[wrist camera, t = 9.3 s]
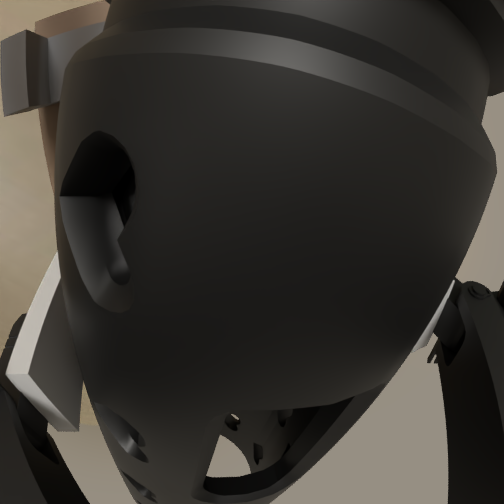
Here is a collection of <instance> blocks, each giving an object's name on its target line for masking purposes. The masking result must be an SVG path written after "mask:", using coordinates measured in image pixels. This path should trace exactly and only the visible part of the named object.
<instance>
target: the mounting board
mask: <svg viewBox="0 0 504 504" xmlns="http://www.w3.org/2000/svg"><path fill="white" fill-rule="evenodd" d="M109 7H110V4H109V3H107V2H106V1H105V0H103V1H99V2H95V3H91V4H88V5H84V6H81V7H77V8H74V9H71V10H67V11H64V12H61V13H58V14H56V15H53V16H50V17H47V18H45V19H42V20H39V21H37V22H35V33H34V32H31V31H29V30H24V31H22V32H19V33H17V34H15V35H13V36H11V37H8V38H6V39H4V40H2V41H1V88H2V101H3V111H4V117H5V116H9V115H14V114H18V113H23V112H28V111H31V110H34V109H37V108H38V110H39V118H40V126H41V133H42V139H43V145H44V151H45V156H46V161H47V166H48V171H49V176H50V180H51V185H52V189H53V193H54V171H55V146H56V132H57V122H58V112H59V104H60V97H61V90H62V84H63V78H64V72H65V68H66V66H67V65H68V63H69V61H70V60H71V58H72V57H73V55H74V54H75V52H76V51H77V50H79V49H80V48H81V47H82V46H84V45H85V44H86V43H88V42H89V41H90V40H92V39H93V38H95V37H96V36H97V35H99V34H100V33H102V32H103V28H104V25H105V21H106V17H107V14H108V10H109Z"/></svg>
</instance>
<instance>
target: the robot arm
mask: <svg viewBox="0 0 504 504" xmlns="http://www.w3.org/2000/svg"><path fill="white" fill-rule="evenodd" d="M433 333H434V334H435V335H436V336H437V337H438V340H437V342H436V343H435V345H434V347H433V349H432V351H431V353H430V355H429V357H428V360H427V363H430V362H431V360H432V359H433V357H434V355H435V354H436V355H437V357H436V359H435V361H434V363H438V367H439V373H440V379H441V386H442V392H443V400H444V409H445V418H446V429H447V444H448V472H449V473H448V478H449V479H448V481H449V482H448V483H449V484H448V504H504V281H503V283H502V286H501V288H500V290H499V291H495V292H491V291H490V290H489V289H488V288H486V287H485V286H484V285H482V284H480V283H478V282H474V281H467V282H465V283H461V282H460V281H459V280H458V279H456V277H455V278H454V280H453V282H452V284H451V286H450V288H449V289H448V291H447V293H446V295H445V297H444V299H443V300H442V302H441V304H440V306H439V307H438V309H437V311H436V313H435V314H434V316H433V318H432V319H431V321H430V323H429V324H428V326H427V328H426V329H425V331H424V332H423V334H422V336H421V337H420V339H419V340H418V342H417V343H416V345H415V346H414V348H413V349H412V351H411V353H412V352H414V351H416V350H418V349H420V348H422V347H424V346H426V345H427V344H428V342H429V340H430V338H431V336H432V334H433ZM82 387H83V377H82V374H81V370H80V367H79V363H78V359H77V356H76V352H75V348H74V344H73V340H72V335H71V331H70V327H69V322H68V317H67V312H66V306H65V301H64V295H63V289H62V282H61V275H60V268H59V259H58V251H57V252H56V254H55V256H54V258H53V260H52V262H51V264H50V266H49V268H48V270H47V272H46V274H45V276H44V278H43V280H42V282H41V284H40V286H39V288H38V290H37V293H36V295H35V297H34V299H33V301H32V304H31V306H30V308H29V311H28V313H26V314H22V315H21V316H20V317H19V318H18V320H17V321H16V322H15V323H14V325H13V327H12V329H11V332H10V334H9V339H7V342H6V345H5V348H4V350H3V353H2V355H1V358H0V504H90V503H89V502H88V500H87V499H86V497H85V496H84V494H83V492H82V491H81V489H80V488H79V486H78V484H77V483H76V481H75V479H74V478H73V476H72V474H71V472H70V471H69V469H68V467H67V465H66V463H65V461H64V460H63V458H62V456H61V454H60V452H59V450H58V448H57V446H56V444H55V442H54V440H53V438H52V437H51V436H50V434H49V433H48V432H47V426H48V422H49V423H50V424H51V425H52V426H53V427H54V428H55V429H56V430H57V431H74V432H75V431H79V422H80V408H81V396H82Z"/></svg>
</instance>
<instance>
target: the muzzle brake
mask: <svg viewBox="0 0 504 504" xmlns="http://www.w3.org/2000/svg"><path fill="white" fill-rule="evenodd" d="M105 1H106V2H107V3H109V4H110V7H109V10H108V14H107V17H106V21H105V25H104V28H103V32H102V33H100V34H99V35H97V36H96V37H95V38H93V39H92V40H90V41H89V42H88V43H86V44H85V45H84V46H82V47H81V48H80V49H79V50H77V51H76V52H75V54H74V55H73V57H72V58H71V60H70V61H69V63H68V65H67V66H66V68H65V72H64V78H63V84H62V90H61V97H60V104H59V112H58V122H57V132H56V146H55V171H54V199H55V224H56V238H57V250H58V259H59V268H60V275H61V282H62V289H63V295H64V301H65V306H66V312H67V317H68V322H69V327H70V331H71V335H72V340H73V344H74V348H75V352H76V356H77V359H78V363H79V367H80V370H81V374H82V377H83V380H84V384H85V387H86V390H87V393H88V396H89V399H90V402H91V405H92V408H93V410H94V413H95V416H96V419H97V421H98V424H99V426H100V429H101V431H102V434H103V436H104V439H105V441H106V443H107V446H108V448H109V450H110V453H111V455H112V457H113V459H114V461H115V463H116V465H117V468H118V470H119V472H120V474H121V476H122V478H123V480H124V482H125V484H126V486H127V487H128V489H129V491H130V493H131V495H132V497H133V498H134V500H135V501H136V503H137V504H269V503H270V502H272V501H273V500H274V499H276V498H277V497H278V496H279V495H281V494H282V493H283V492H284V491H286V490H287V489H288V488H289V487H290V486H291V485H293V484H294V483H295V482H296V481H297V480H298V479H299V478H301V477H302V476H303V475H304V474H305V473H306V472H307V471H308V470H310V469H311V468H312V467H313V466H314V465H315V464H316V463H317V462H318V461H319V460H320V459H321V458H322V457H323V456H324V455H325V454H326V453H327V452H328V451H329V450H330V449H331V448H332V447H333V446H334V445H335V444H336V443H337V442H338V441H339V440H340V439H341V438H342V437H343V436H344V435H345V434H346V433H347V432H348V431H349V429H350V428H351V427H352V426H353V425H354V424H355V423H356V422H357V421H358V419H359V418H360V417H361V416H362V415H363V414H364V412H365V411H366V410H367V409H368V408H369V406H370V405H371V404H372V403H373V402H374V400H375V399H376V398H377V397H378V396H379V394H380V393H381V391H382V390H383V389H384V388H385V387H386V385H387V384H388V383H389V381H390V380H391V379H392V377H393V376H394V375H395V373H396V372H397V371H398V369H399V368H400V367H401V365H402V364H403V362H404V361H405V359H406V358H407V356H408V355H409V354H410V352H411V351H412V349H413V348H414V346H415V345H416V343H417V342H418V340H419V339H420V337H421V336H422V334H423V332H424V331H425V329H426V328H427V326H428V324H429V323H430V321H431V319H432V318H433V316H434V314H435V313H436V311H437V309H438V307H439V306H440V304H441V302H442V300H443V299H444V297H445V295H446V293H447V291H448V289H449V288H450V286H451V284H452V282H453V280H454V278H455V276H456V274H457V272H458V270H459V268H460V266H461V264H462V262H463V259H464V257H465V255H466V253H467V251H468V248H469V246H470V244H471V242H472V239H473V237H474V235H475V232H476V230H477V228H478V225H479V223H480V220H481V217H482V215H483V212H484V210H485V207H486V204H487V201H488V198H489V196H490V193H491V190H492V187H493V184H494V180H495V177H496V174H497V167H496V155H495V151H494V149H493V147H492V145H491V142H490V140H489V138H488V136H487V134H486V132H485V130H484V129H483V127H482V125H481V123H482V119H483V115H484V110H485V105H486V100H487V96H493V95H496V94H499V93H501V92H504V0H105ZM231 414H234V415H236V416H237V417H238V418H239V420H237V419H235V418H234V417H233V416H232V415H231ZM220 435H222V436H224V437H226V438H227V439H229V440H230V441H232V442H233V443H234V444H235V445H236V446H237V447H238V448H239V449H240V450H241V451H242V453H243V454H244V456H245V457H246V459H247V462H248V464H249V466H250V471H251V474H248V475H244V476H240V477H220V478H219V477H217V478H216V477H208V476H206V474H207V471H208V468H209V465H210V462H211V459H212V456H213V453H214V450H215V447H216V444H217V441H218V438H219V436H220Z"/></svg>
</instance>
